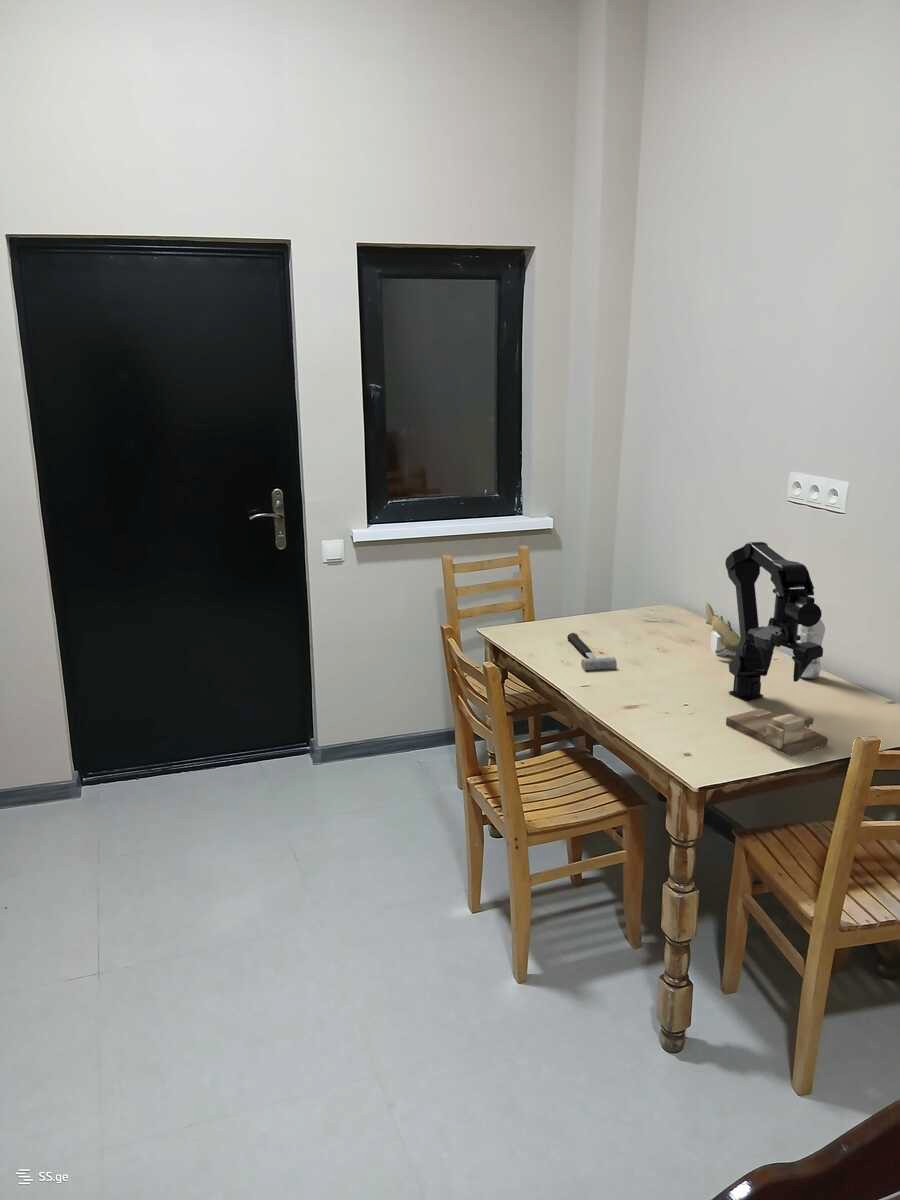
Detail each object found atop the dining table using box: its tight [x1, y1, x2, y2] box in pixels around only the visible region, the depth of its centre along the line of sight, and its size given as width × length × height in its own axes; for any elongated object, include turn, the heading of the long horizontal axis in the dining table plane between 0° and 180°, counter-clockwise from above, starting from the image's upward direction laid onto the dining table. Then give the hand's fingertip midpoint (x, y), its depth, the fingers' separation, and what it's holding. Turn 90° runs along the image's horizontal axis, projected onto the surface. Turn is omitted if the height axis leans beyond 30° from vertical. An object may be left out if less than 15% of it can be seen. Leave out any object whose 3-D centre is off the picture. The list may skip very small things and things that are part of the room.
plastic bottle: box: [800, 609, 826, 680], centre depth 236 cm, size 6×7×20 cm
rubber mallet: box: [567, 632, 618, 671], centre depth 260 cm, size 10×4×30 cm
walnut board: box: [725, 708, 829, 757], centre depth 201 cm, size 20×12×2 cm, turn 27°
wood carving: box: [705, 601, 741, 657], centre depth 261 cm, size 9×35×11 cm, turn 179°
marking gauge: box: [766, 713, 814, 749], centre depth 194 cm, size 4×12×6 cm, turn 117°
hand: (780, 675), depth 206 cm, fingers open, 9 cm apart
